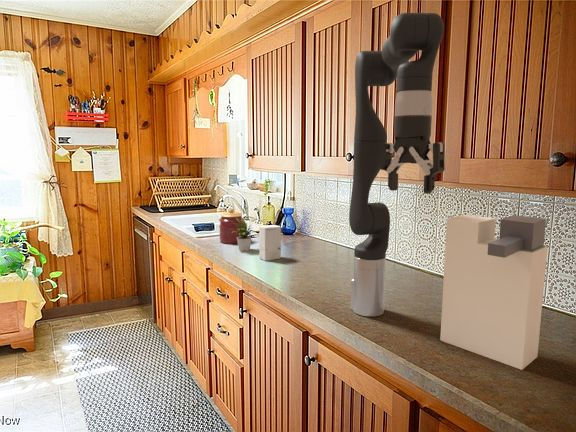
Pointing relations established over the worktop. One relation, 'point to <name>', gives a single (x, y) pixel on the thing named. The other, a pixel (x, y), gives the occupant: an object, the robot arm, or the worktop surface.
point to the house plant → (243, 236)
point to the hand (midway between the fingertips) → (409, 191)
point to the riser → (491, 294)
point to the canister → (229, 226)
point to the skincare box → (270, 242)
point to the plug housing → (518, 235)
